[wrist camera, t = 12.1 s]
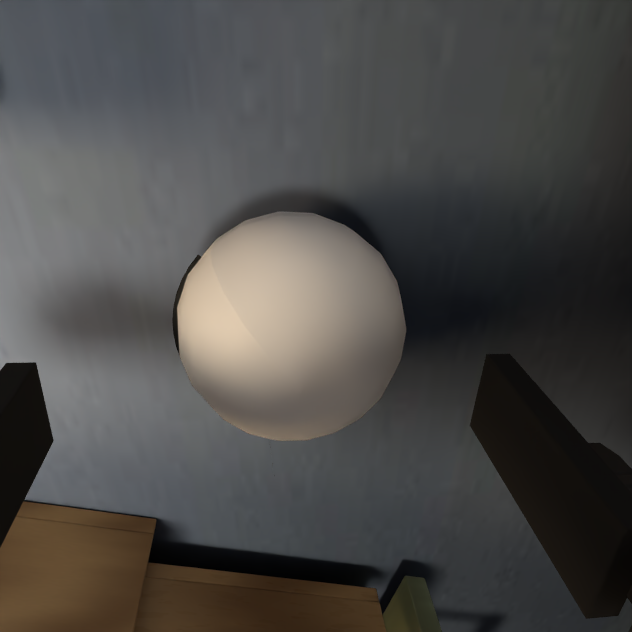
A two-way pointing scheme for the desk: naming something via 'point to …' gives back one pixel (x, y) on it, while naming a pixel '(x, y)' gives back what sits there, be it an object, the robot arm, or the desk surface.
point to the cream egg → (289, 326)
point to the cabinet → (73, 570)
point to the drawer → (274, 604)
